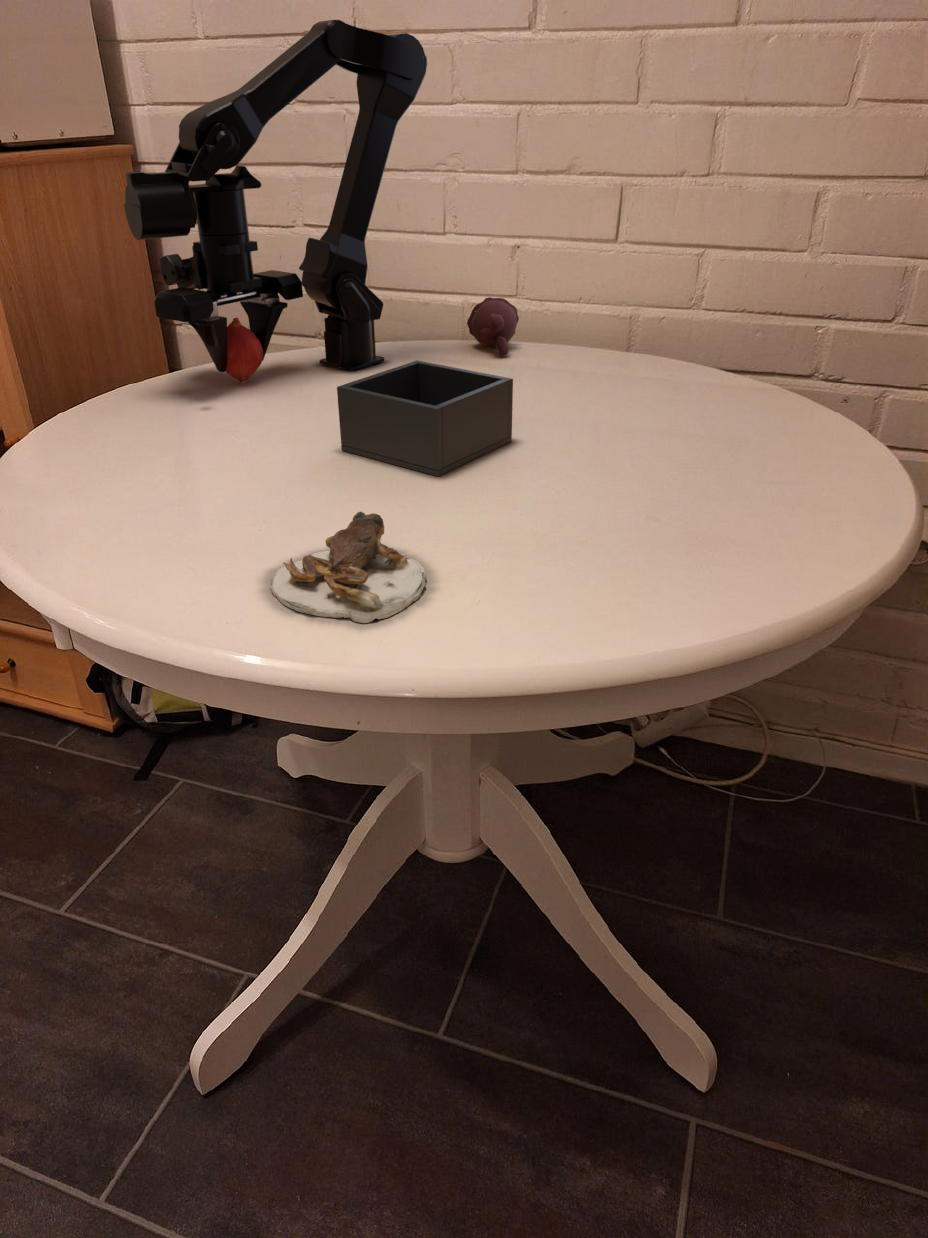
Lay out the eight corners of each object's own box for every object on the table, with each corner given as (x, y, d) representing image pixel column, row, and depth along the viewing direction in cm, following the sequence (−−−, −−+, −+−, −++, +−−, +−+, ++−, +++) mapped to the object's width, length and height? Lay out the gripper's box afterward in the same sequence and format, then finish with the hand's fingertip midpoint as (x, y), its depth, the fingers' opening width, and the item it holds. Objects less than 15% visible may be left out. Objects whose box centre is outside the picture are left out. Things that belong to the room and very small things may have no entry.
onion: (210, 385, 114) (200, 320, 110) (236, 374, 118) (228, 310, 114) (249, 390, 112) (241, 324, 108) (274, 378, 117) (267, 314, 113)
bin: (418, 419, 102) (416, 359, 98) (511, 441, 95) (513, 378, 92) (341, 450, 93) (336, 386, 90) (438, 476, 87) (436, 408, 83)
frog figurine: (311, 539, 75) (306, 495, 73) (449, 558, 71) (448, 513, 69) (239, 604, 65) (232, 556, 63) (395, 629, 62) (392, 580, 60)
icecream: (457, 290, 134) (467, 322, 122) (506, 276, 133) (521, 306, 121) (469, 335, 138) (480, 370, 126) (516, 322, 137) (531, 355, 125)
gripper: (238, 219, 117) (253, 342, 125) (113, 236, 104) (139, 372, 112) (299, 225, 111) (311, 354, 119) (175, 244, 98) (197, 387, 106)
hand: (241, 366), depth 114 cm, fingers closed on onion, 6 cm apart
